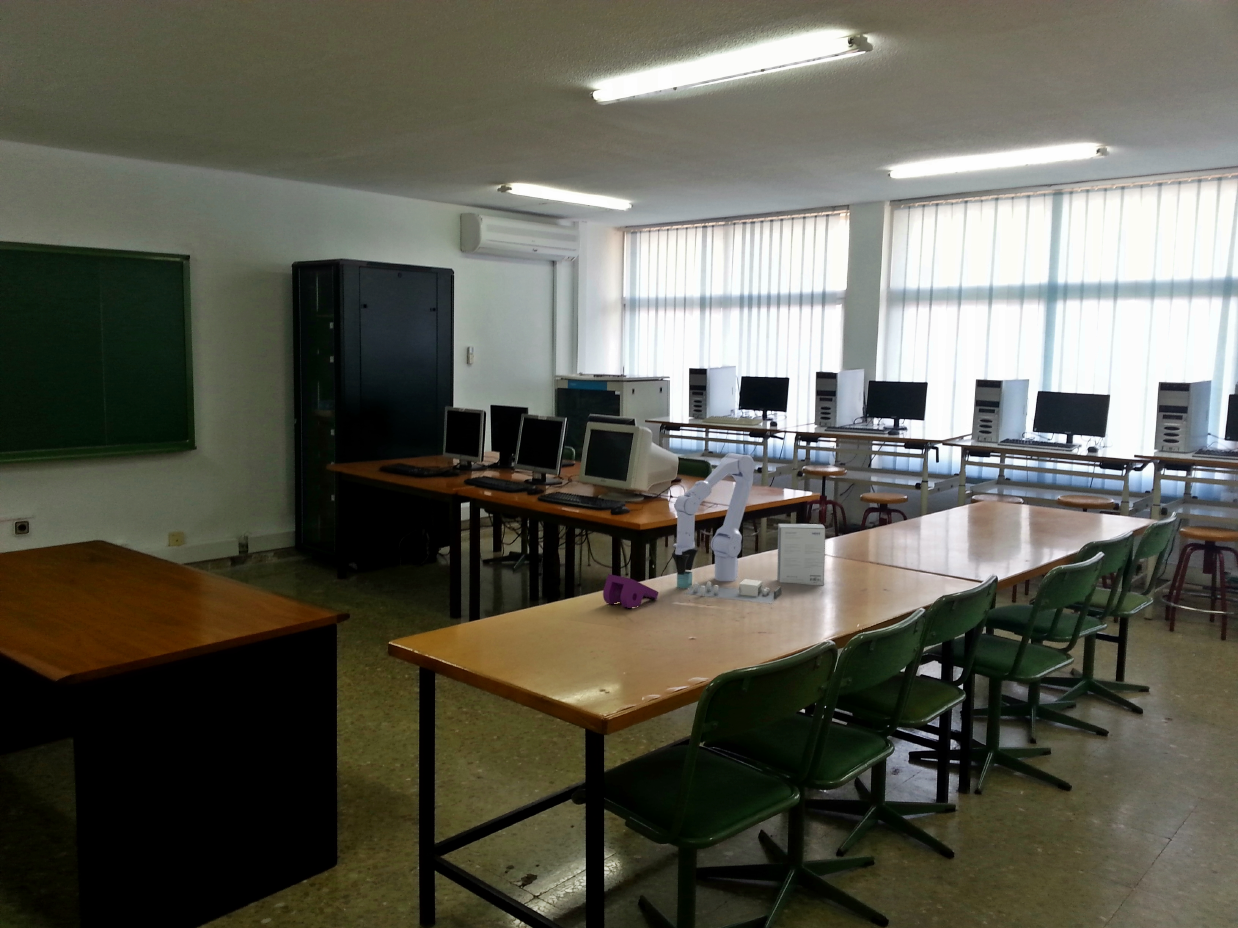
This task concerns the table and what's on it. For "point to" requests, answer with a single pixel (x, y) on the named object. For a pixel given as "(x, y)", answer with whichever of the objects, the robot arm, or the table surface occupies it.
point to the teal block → (684, 580)
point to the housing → (750, 587)
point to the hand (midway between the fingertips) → (684, 572)
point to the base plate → (733, 593)
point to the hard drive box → (801, 553)
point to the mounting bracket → (626, 591)
